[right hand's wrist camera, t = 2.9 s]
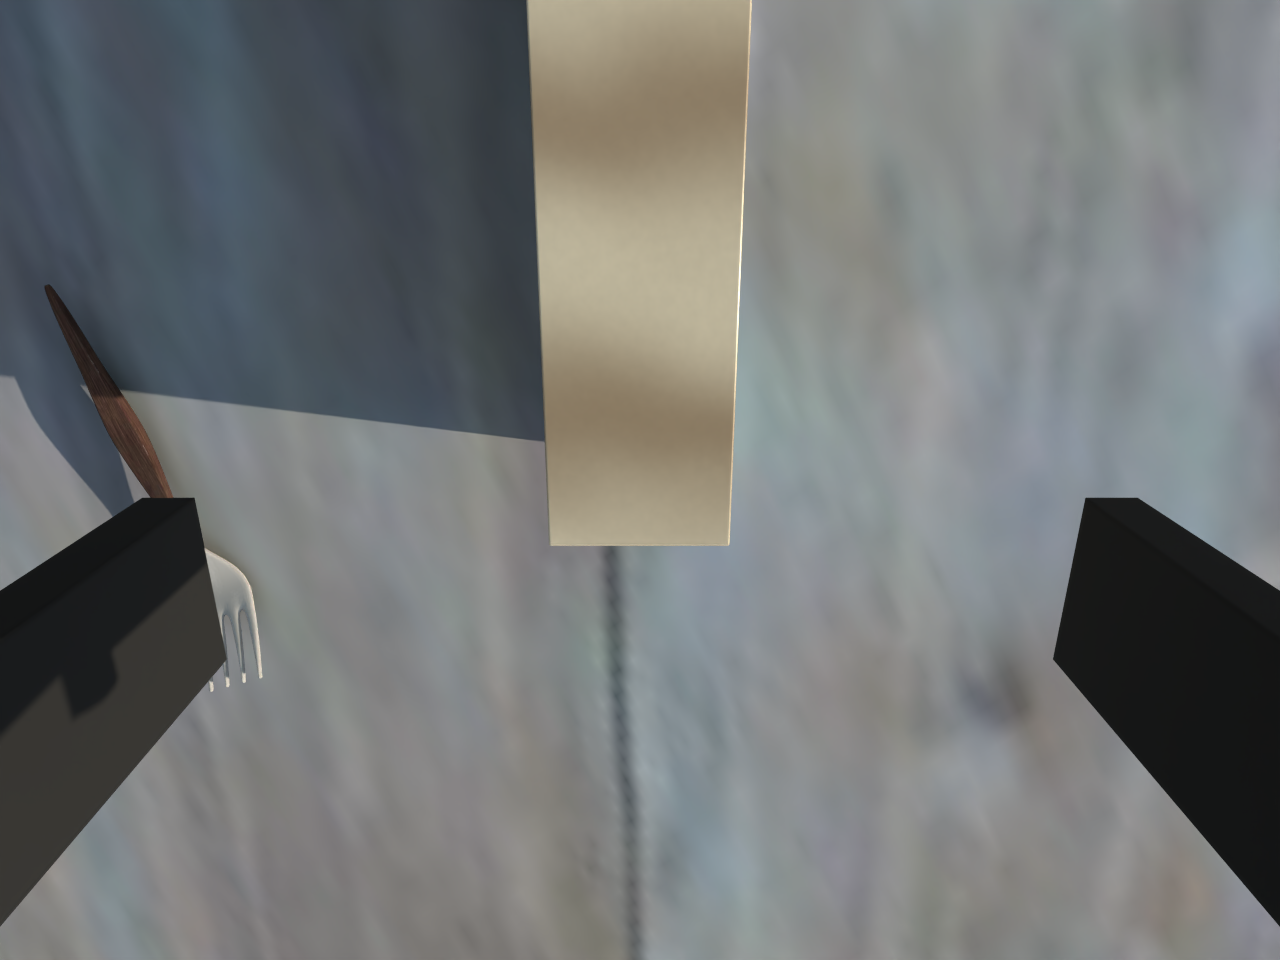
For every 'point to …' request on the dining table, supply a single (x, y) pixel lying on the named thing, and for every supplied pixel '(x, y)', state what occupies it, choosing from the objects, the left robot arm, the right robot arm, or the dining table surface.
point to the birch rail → (639, 262)
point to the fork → (155, 478)
